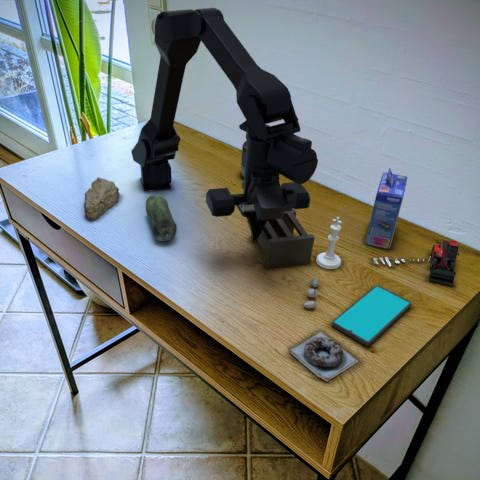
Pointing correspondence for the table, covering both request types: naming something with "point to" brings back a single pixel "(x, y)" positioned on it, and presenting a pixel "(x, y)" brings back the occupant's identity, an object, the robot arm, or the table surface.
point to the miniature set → (395, 260)
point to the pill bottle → (243, 157)
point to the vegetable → (160, 218)
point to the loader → (443, 262)
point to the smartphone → (371, 315)
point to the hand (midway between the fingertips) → (254, 238)
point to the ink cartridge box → (386, 210)
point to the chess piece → (331, 249)
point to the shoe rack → (285, 242)
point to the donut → (323, 356)
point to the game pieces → (312, 293)
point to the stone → (100, 197)
